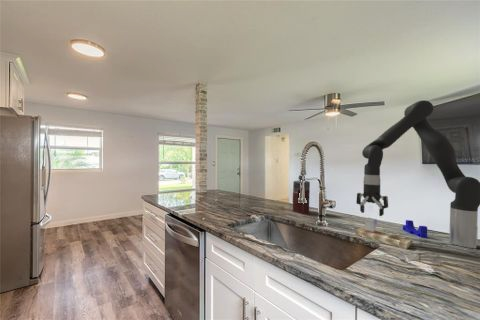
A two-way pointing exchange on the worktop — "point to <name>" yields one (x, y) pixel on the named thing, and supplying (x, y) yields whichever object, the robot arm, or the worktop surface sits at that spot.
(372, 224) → the steel peg
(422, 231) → the cable clip
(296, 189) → the dark red bottle
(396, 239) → the birch rail
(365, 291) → the worktop surface
